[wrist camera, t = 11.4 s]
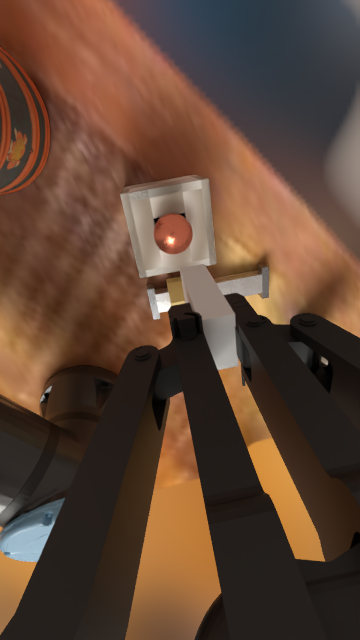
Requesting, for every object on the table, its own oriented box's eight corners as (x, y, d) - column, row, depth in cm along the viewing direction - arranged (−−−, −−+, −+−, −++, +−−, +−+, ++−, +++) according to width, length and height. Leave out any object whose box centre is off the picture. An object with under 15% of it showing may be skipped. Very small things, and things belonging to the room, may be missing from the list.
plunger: (155, 244, 35) (158, 257, 31) (149, 210, 33) (150, 218, 29) (187, 238, 35) (195, 250, 31) (183, 204, 33) (190, 211, 29)
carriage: (172, 313, 46) (178, 343, 38) (165, 278, 43) (171, 303, 35) (203, 307, 46) (215, 336, 39) (198, 272, 43) (211, 295, 36)
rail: (153, 313, 46) (153, 319, 44) (146, 284, 43) (146, 289, 42) (263, 292, 46) (268, 297, 45) (263, 262, 44) (268, 266, 42)
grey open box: (140, 255, 41) (140, 278, 33) (124, 186, 37) (120, 194, 29) (202, 244, 41) (216, 263, 33) (194, 174, 37) (208, 178, 29)
